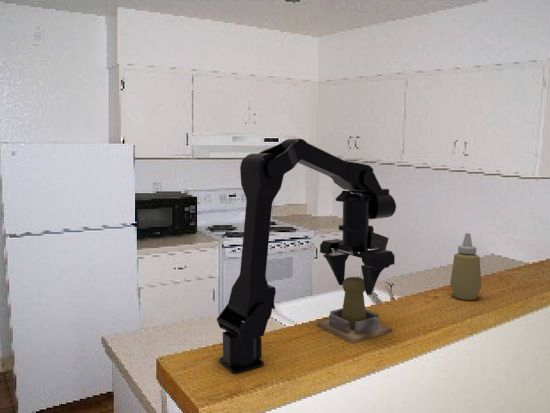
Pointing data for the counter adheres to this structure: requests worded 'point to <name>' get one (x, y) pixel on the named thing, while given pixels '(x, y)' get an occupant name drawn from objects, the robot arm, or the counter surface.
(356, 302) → the cork
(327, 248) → the robot arm
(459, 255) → the squeeze bottle
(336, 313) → the clip holder
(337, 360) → the counter surface
